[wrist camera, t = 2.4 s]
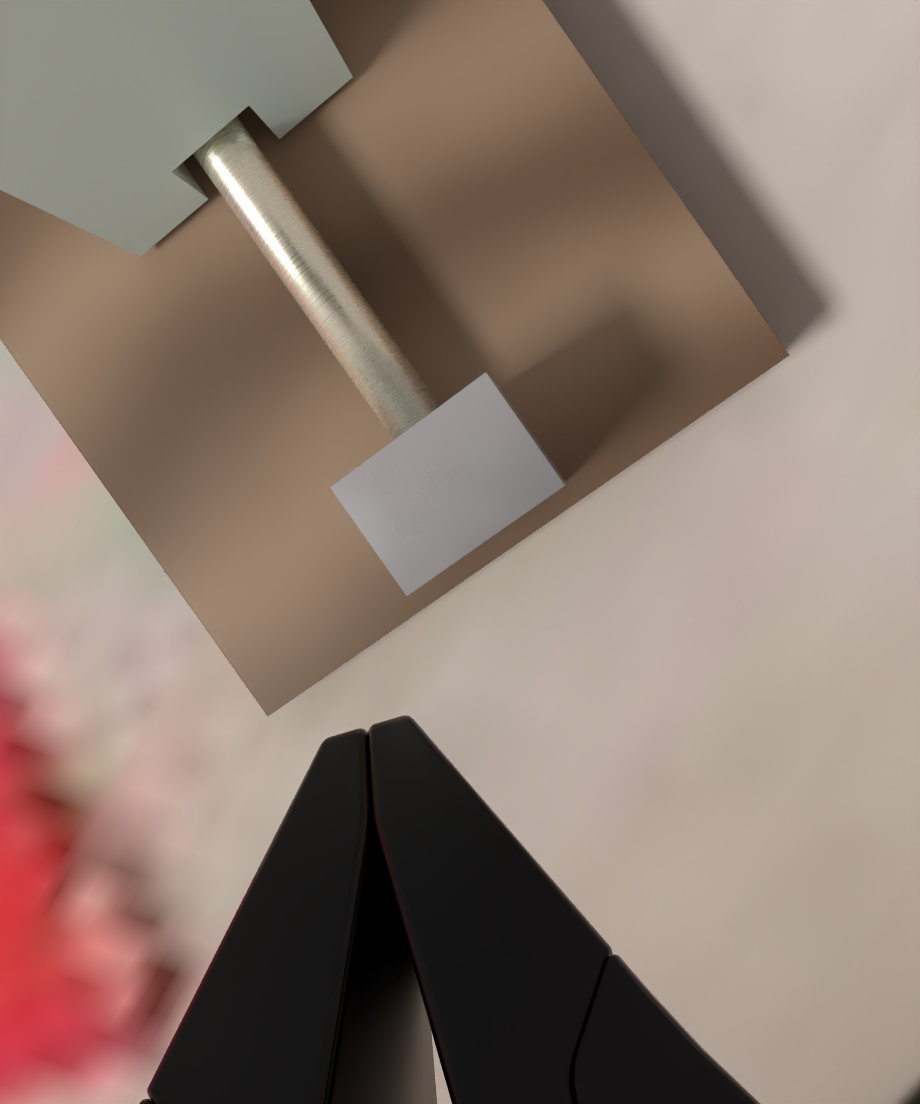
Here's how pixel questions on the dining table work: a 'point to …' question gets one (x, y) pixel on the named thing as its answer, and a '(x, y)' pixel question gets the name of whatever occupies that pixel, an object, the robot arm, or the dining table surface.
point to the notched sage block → (145, 100)
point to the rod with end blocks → (391, 395)
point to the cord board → (401, 305)
